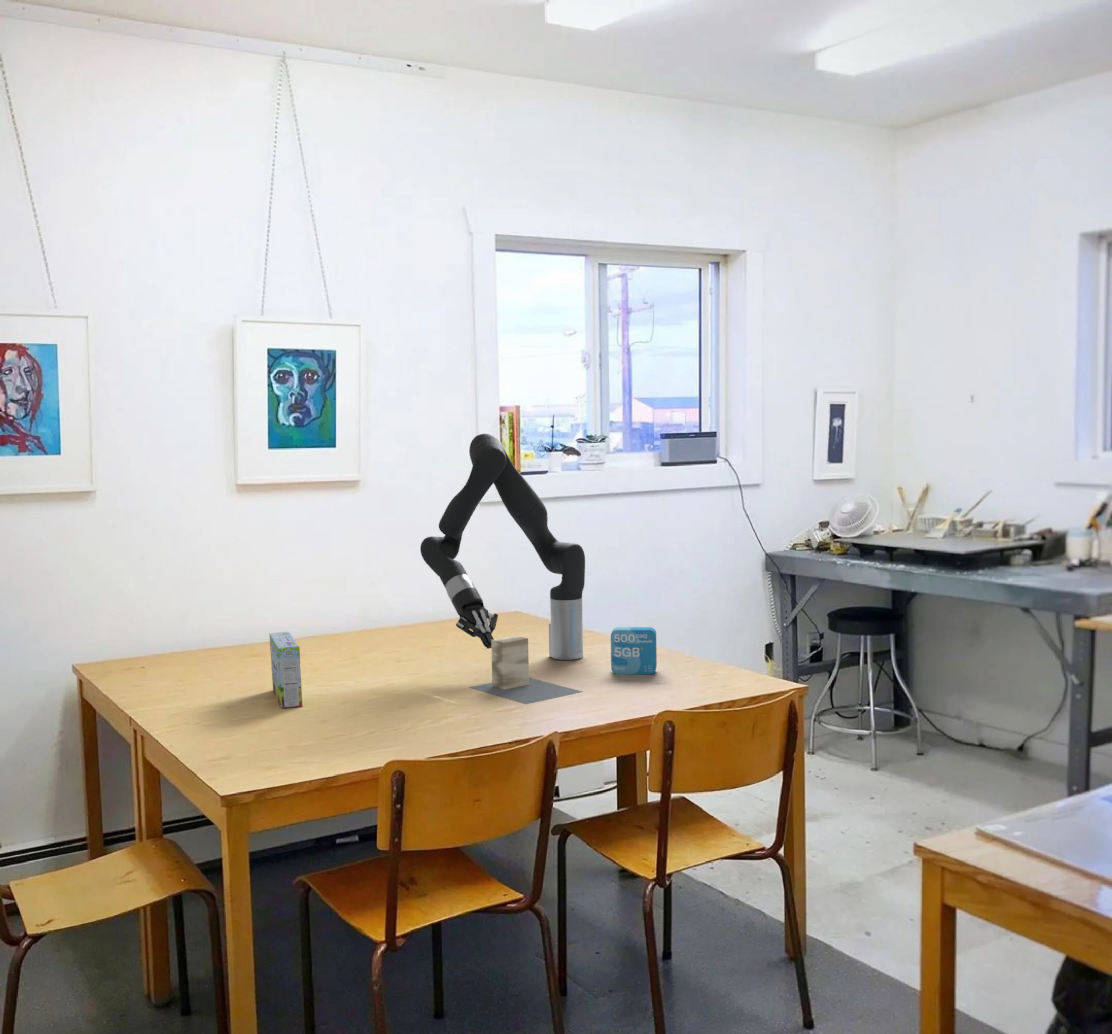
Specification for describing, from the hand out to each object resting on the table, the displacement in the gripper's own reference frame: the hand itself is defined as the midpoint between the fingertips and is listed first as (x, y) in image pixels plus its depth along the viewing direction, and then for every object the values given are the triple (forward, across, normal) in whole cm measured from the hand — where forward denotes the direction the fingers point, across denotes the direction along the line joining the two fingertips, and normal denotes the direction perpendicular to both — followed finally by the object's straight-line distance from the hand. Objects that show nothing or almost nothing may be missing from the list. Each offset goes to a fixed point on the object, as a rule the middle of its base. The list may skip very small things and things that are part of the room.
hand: (491, 646), depth 283 cm
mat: (+16, 0, -3) cm, 17 cm away
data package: (+19, +34, -6) cm, 40 cm away
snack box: (-8, -48, +22) cm, 53 cm away
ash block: (+12, 0, +1) cm, 12 cm away
